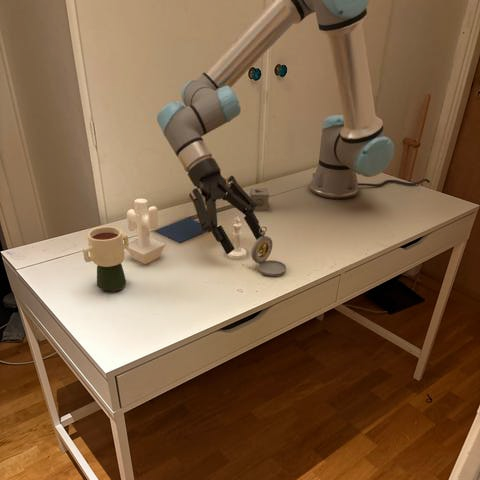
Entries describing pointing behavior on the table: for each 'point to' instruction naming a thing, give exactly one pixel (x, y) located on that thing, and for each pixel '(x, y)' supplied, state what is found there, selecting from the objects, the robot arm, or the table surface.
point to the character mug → (107, 256)
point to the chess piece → (237, 242)
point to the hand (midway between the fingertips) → (246, 244)
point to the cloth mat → (181, 230)
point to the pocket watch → (266, 256)
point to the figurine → (143, 232)
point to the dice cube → (260, 198)
